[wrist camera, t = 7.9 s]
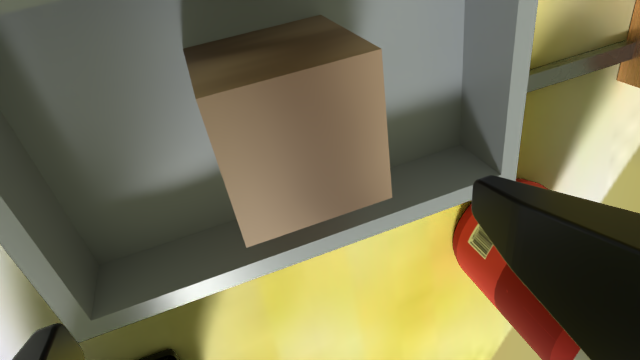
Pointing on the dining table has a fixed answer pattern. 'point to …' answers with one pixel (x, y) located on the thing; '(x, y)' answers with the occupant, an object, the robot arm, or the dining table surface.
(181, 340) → the dining table surface
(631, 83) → the track
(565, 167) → the dining table surface
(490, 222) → the robot arm
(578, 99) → the dining table surface
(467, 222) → the canned food
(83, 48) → the grey open tray
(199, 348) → the dining table surface
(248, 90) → the walnut block
